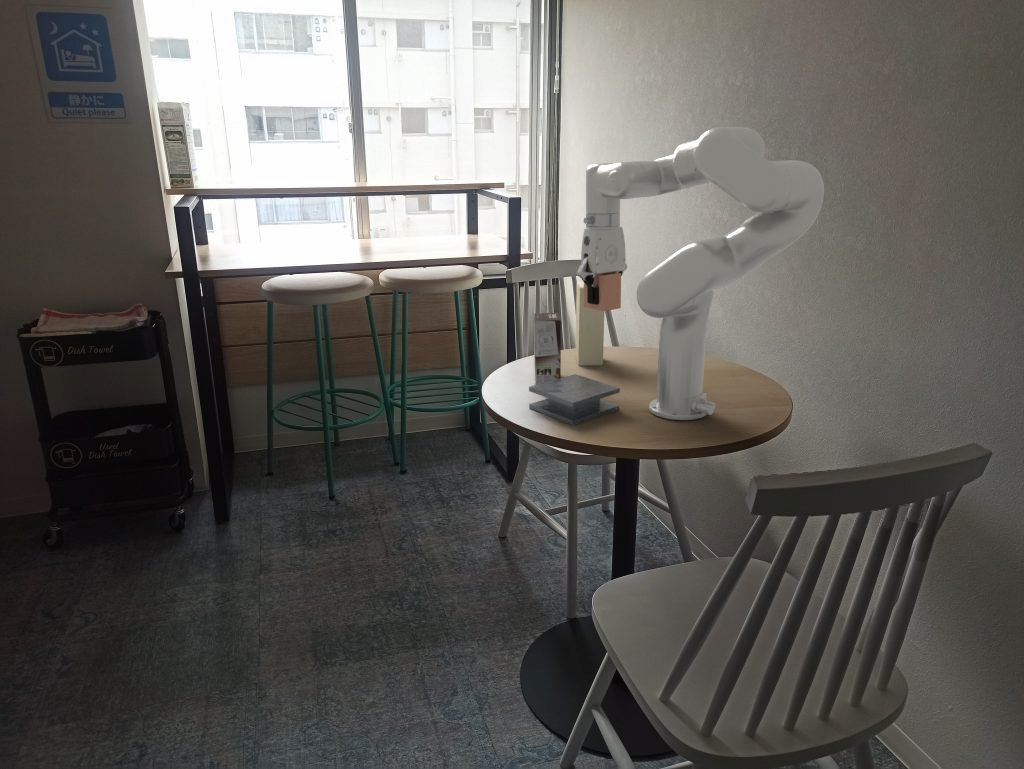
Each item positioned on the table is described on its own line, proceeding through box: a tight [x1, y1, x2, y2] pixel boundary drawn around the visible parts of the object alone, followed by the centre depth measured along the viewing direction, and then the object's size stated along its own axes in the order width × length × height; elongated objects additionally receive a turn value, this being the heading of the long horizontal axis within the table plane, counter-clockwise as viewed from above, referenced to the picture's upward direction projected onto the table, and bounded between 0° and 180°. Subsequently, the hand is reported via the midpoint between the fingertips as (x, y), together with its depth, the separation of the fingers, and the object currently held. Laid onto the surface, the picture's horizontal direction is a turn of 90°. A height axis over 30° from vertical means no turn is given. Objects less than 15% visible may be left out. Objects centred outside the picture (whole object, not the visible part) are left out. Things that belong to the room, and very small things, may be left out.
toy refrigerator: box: [575, 281, 605, 367], centre depth 191 cm, size 8×7×21 cm
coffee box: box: [533, 312, 562, 385], centre depth 178 cm, size 9×6×16 cm
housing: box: [584, 272, 622, 312], centre depth 165 cm, size 7×5×9 cm
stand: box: [528, 373, 621, 426], centre depth 159 cm, size 14×14×5 cm
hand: (602, 301), depth 166 cm, fingers closed on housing, 5 cm apart
